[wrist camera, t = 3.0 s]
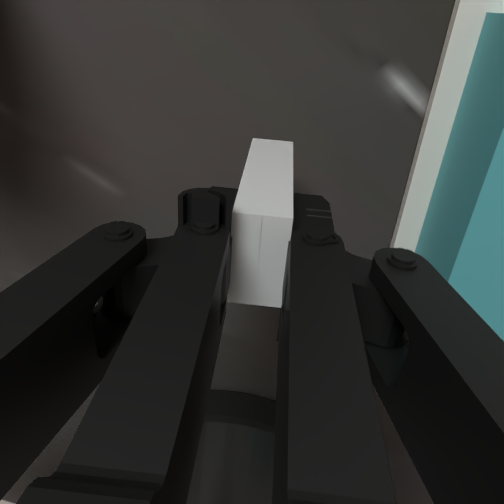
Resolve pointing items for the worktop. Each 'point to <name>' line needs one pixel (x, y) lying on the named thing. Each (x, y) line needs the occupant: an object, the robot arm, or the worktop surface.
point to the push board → (440, 115)
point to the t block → (473, 187)
